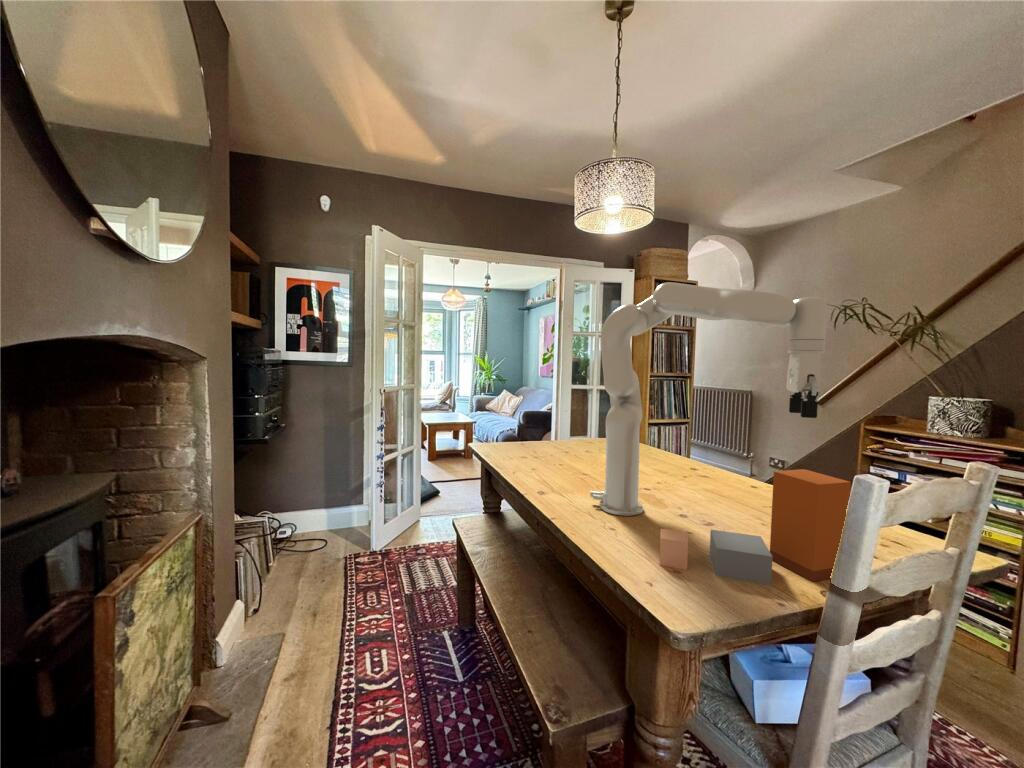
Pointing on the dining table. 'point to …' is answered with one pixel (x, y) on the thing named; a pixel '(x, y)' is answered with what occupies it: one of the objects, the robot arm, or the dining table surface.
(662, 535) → the terracotta block
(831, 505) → the tall orange brick
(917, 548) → the dining table surface
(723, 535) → the charcoal block
